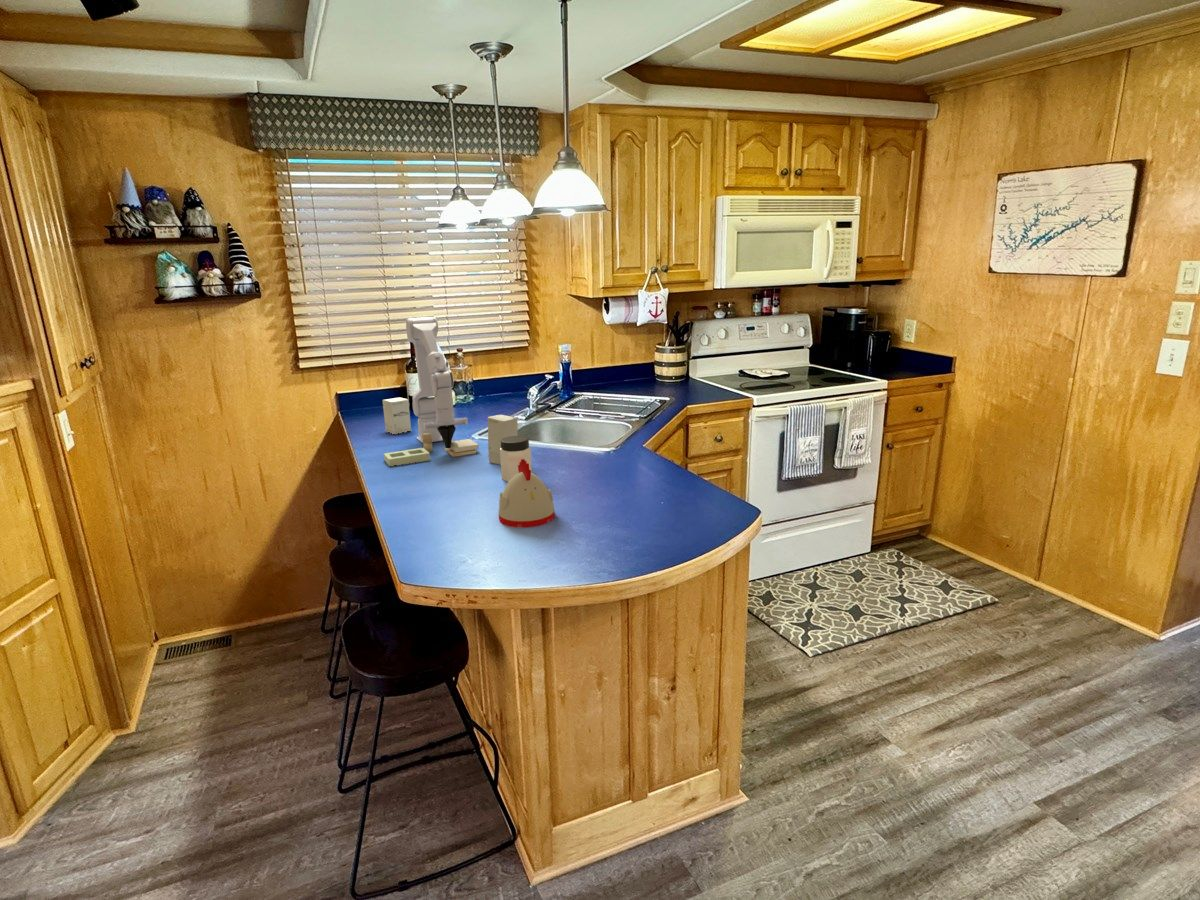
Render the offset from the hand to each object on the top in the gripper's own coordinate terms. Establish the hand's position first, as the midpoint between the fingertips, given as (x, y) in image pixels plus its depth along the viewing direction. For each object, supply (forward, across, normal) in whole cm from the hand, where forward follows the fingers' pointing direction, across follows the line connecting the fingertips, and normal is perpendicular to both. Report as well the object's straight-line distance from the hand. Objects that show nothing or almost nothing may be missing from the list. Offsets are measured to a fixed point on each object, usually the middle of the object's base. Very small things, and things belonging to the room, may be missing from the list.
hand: (447, 447), depth 233 cm
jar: (+2, +9, -38) cm, 39 cm away
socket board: (+2, -14, 0) cm, 14 cm away
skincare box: (+2, +12, -20) cm, 24 cm away
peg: (+2, -5, +8) cm, 9 cm away
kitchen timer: (+2, 0, -69) cm, 69 cm away
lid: (+1, +5, 0) cm, 5 cm away
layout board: (+2, +4, 0) cm, 5 cm away
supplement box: (+2, -7, +42) cm, 43 cm away
